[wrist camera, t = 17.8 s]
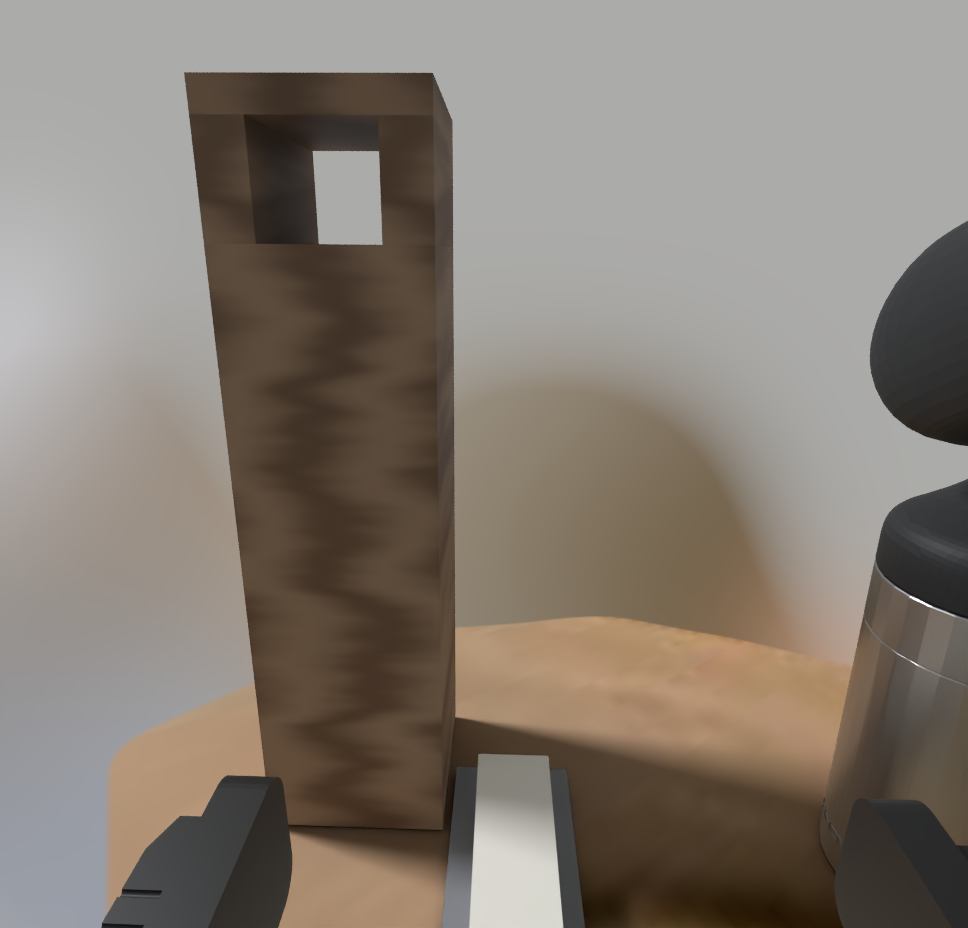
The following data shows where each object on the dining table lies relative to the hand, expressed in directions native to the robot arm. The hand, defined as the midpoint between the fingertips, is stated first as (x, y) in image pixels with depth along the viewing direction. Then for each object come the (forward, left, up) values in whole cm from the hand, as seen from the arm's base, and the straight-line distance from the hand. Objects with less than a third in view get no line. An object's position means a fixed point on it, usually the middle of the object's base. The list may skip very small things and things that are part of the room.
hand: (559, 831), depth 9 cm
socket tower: (+9, -27, -24) cm, 37 cm away
